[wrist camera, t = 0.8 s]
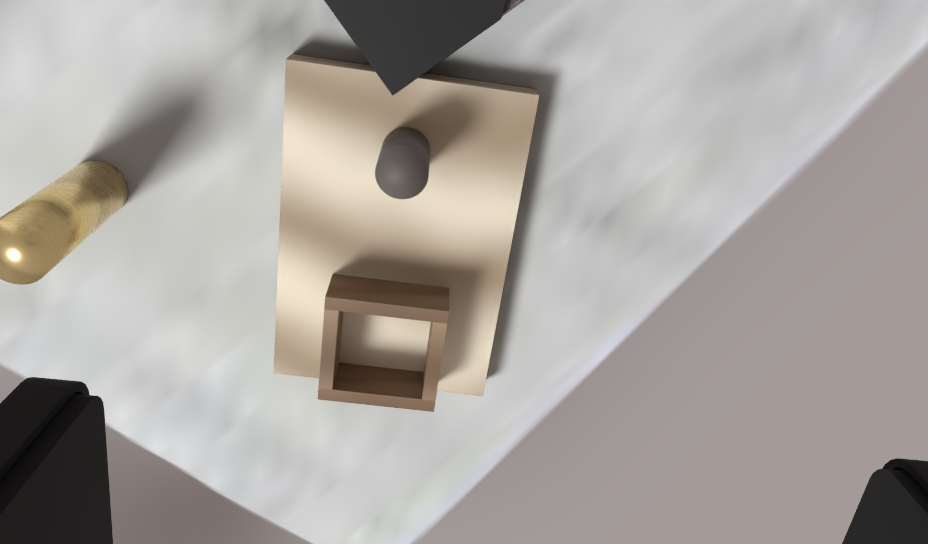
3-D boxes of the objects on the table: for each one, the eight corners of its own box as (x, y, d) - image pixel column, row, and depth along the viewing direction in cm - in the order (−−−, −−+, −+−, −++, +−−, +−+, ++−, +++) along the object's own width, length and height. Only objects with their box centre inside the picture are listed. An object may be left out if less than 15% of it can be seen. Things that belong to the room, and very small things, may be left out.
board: (291, 54, 30) (269, 74, 26) (536, 89, 30) (548, 113, 27) (279, 359, 36) (258, 411, 32) (481, 381, 37) (485, 435, 33)
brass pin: (68, 156, 31) (-28, 217, 25) (126, 164, 32) (45, 226, 25) (73, 209, 32) (-18, 280, 26) (129, 216, 33) (52, 288, 26)
